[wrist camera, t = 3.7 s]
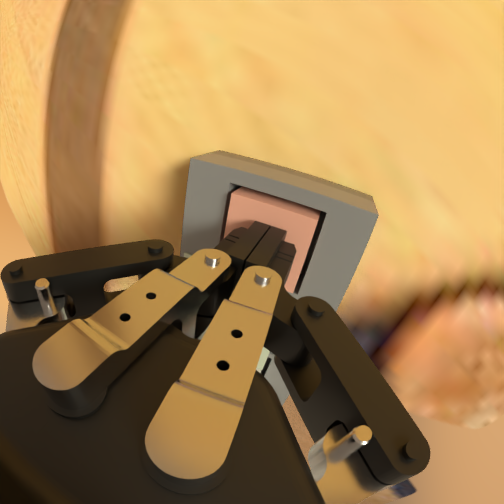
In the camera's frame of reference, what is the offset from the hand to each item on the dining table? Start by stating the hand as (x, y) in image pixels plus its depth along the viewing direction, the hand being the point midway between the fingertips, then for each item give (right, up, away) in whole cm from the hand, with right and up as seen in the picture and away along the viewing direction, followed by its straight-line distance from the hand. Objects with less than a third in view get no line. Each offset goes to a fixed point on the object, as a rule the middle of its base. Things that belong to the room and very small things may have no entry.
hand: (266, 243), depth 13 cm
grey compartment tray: (0, -3, +6) cm, 6 cm away
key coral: (+1, +1, +2) cm, 2 cm away
